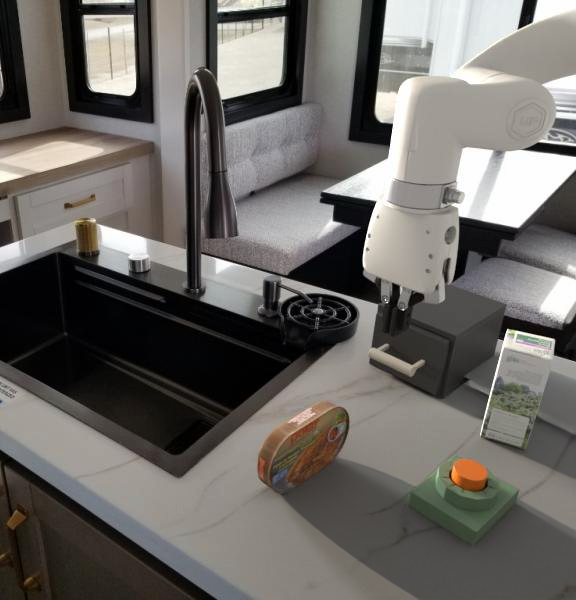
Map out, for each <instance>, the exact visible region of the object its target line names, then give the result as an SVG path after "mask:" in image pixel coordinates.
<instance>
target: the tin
mask: <svg viewBox="0 0 576 600" xmlns="http://www.w3.org/2000/svg"><path fill="white" fill-rule="evenodd" d="M349 431H350V415H349V412H348V411H347V409H345V407H342V406H339V405H337V404H334V403H333V402H331V401H327V400H320V401H317V402H314V404H311V405H310V406H309V407H307V408H305V409H304V410H301V411H300V412H299V413H297V414H296V415H294V416H291V418H289V419H287V420H286V421H284V422H283V423H281V424H279V425H278V426H276V427H275V428H274V429H273V430H272V431H271V432H269V434H267V436H266V437H265V439H264V441H263V442H262V444H261V446H260V448H259V451H258V453H257V461H256V462H257V463H256V472H257V477H258V479H259V481H260V482H261V483H262V484H264V485H265V486H267V487H268V488H270V489H271V490H272V491H273V492H274V493H275V494H280V495H283V494H287V493H290V492H291V491H294V489H296V488H297V487H298V486H300V485H301V484H302V483H304V482H306V481H308V479H310V478H311V477H313V476H314V475H315V474H317V473H319V472H320V471H321V470H323V469H324V468H326V467H327V466H328V465H330V464H331V463H332V462H333V461H334V460H335V459H336V458H337V457H338V455H339V454H340V453H341V451H342V449H343V447H344V445H345V444H346V441H347V439H348V435H349Z"/></svg>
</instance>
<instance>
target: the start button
mask: <svg viewBox="0 0 576 600" xmlns="http://www.w3.org/2000/svg"><path fill="white" fill-rule="evenodd" d="M485 468H486V467H485V466H484V465H482V463H479V462H478V461H475V460H472V459H467V458H463V459H461V460H458V461H456V462H455V463H454V466H453V470H452V474H451V480H452V482H453V483H454V484H455V485H456V486H458V487H460V488H462V489H463V490H467V491H472V492H478V491H481V490H483V489H484V487H485V483H486V479H487V476H488V473H487V470H486V469H487V468H486V469H485Z"/></svg>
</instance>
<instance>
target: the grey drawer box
mask: <svg viewBox="0 0 576 600" xmlns="http://www.w3.org/2000/svg"><path fill="white" fill-rule="evenodd" d="M384 305H385V303H383V302H380V303H378V304H377V311H376V314H377V313H379V312H383V311H384ZM507 305H508V304H507V303H504V302H501V301H499V300H495V299H493V298H489V297H486V296H484V295H481V294H478V293H475V292H473V291H469V290H467V289H464V288H461V287H458V286H455V285H452V284H449V285H446V286H445V300H444V301H442V302H441V303H439V304H430V303H424V302H419V303H417V304H415V305H413V311H412V316H411V322H410V323H412V324H414V325H417V326H419V327H421V328H424V329H426V330H429V331H431V332H434V333H436V334H439V335H441V336H443V337H446V338H448V339H449V340H451V342H450V346H449V351H448V356H447V361H446V365H445V370H444V375H443V379H442V384H441V389H440V392H439V393H438V394H436V395H434V394H432V393H430V392H428V391H426V390H424V389H422V388H420V387H418V386H416V385H414V384H412V383H410V382H408V381H406V380H403V379H401V378H399V377H397V376H395V375H393V374H391V373H389V372H387V371H385V370H383V369H381V368H379V367H377V366H375V365H373V364H370V365H372V366H373V367H376V368H377V369H380V370H382V371H384V372H386V373H388V374H390V375H392V376H394V377H395V378H396V377H397V378H398V379H400V380H403V381H404V382H407V383H408V384H411V385H413V386H415V387H417V388H419V389H420V390H423V391H425V392H427V393H429V394H431V395H433V396H436V397H437V398H440V399H441V400H444V399H445V398H446V397H448V396H450V394H452V393H453V392H455V391H456V390H458V389H459V388H460V387H461V386H463V385H464V384H466V383H467V382H469V381H470V380H471V378H469V377H466V376H467V375H468V374H470V373H471V372H473V371H474V370H476V369H477V368H478V367H480V366H481V365H483V364H484V363H486V362H487V361H488V360H490V359H491V358H492V357H494V356H495V352H496V348H497V345H498V341H499V337H500V333H501V329H502V325H503V321H504V318H505V314H506V309H507Z"/></svg>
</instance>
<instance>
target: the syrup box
mask: <svg viewBox="0 0 576 600" xmlns="http://www.w3.org/2000/svg"><path fill="white" fill-rule="evenodd" d="M555 344H556V339H555V338H551V337H548V336H547V337H546V336H542V335H537V334H532V333H528V332H524V331H519V330H515V329H509V328H507V330H506V333H505V336H504V339H503V343H502V346H501V351H500V355H499V359H498V363H497V366H496V370H495V374H494V378H493V382H492V384H491V385H492V386H491V389H490V393H489V397H488V401H487V404H486V409H485V413H484V417H483V420H482V425H481V428H480V435H479V436H480V438H484V439H488V440H491V441H493V442H497V443H501V444H504V445H507V446H510V447H514V448H517V449H521V450H526V449H527V446H528V443H529V441H530V437H531V434H532V431H533V428H534V424H535V421H536V417H537V415H538V411H539V408H540V404H541V402H542V398H543V395H544V392H545V389H546V387H547V383H548V379H549V376H550V373H551V371H552V366H553V363H554V355H555V346H556V345H555Z"/></svg>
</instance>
